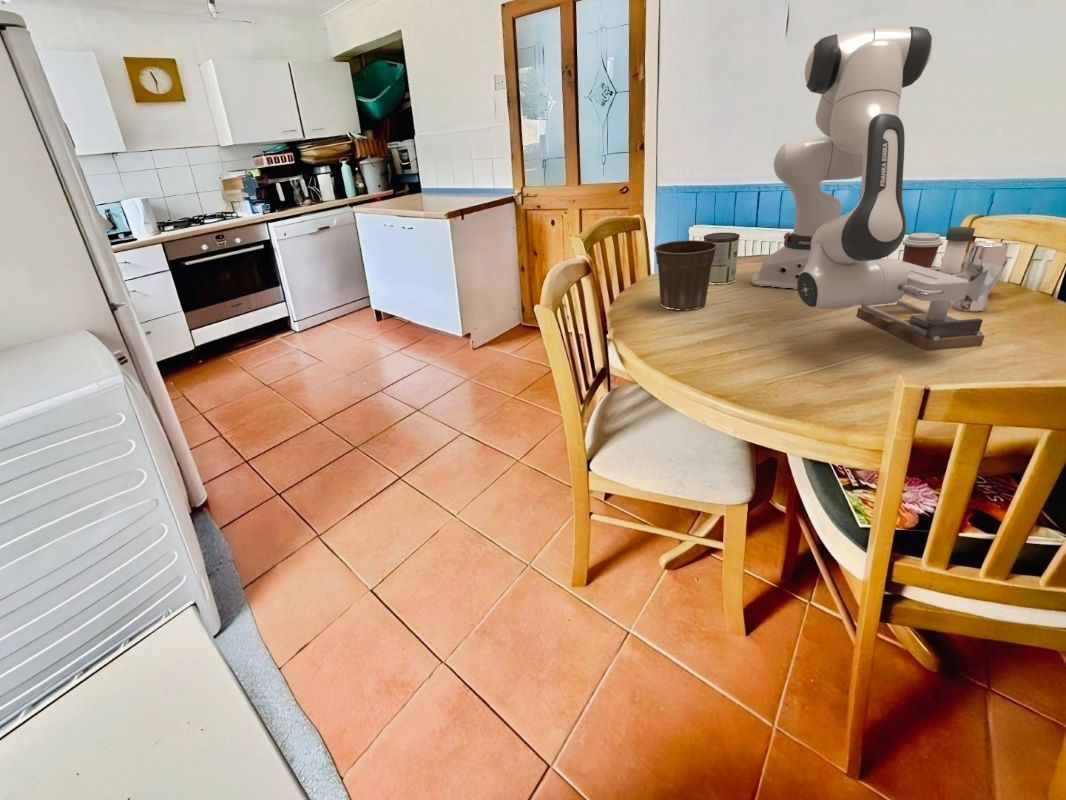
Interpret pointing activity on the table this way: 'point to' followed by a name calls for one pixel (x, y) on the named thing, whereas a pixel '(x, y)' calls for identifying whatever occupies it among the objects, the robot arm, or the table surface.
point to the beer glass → (981, 273)
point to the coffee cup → (921, 248)
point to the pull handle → (949, 265)
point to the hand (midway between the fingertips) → (952, 275)
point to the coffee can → (723, 257)
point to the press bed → (933, 338)
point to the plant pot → (684, 272)
